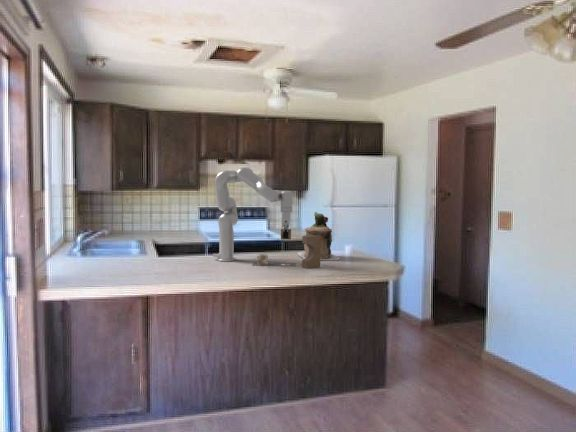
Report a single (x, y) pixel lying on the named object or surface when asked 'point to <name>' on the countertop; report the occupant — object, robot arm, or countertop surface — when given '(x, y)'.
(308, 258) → the decorative block
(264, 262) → the maple block
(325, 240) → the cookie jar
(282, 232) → the walnut block
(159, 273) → the countertop surface
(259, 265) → the mat
